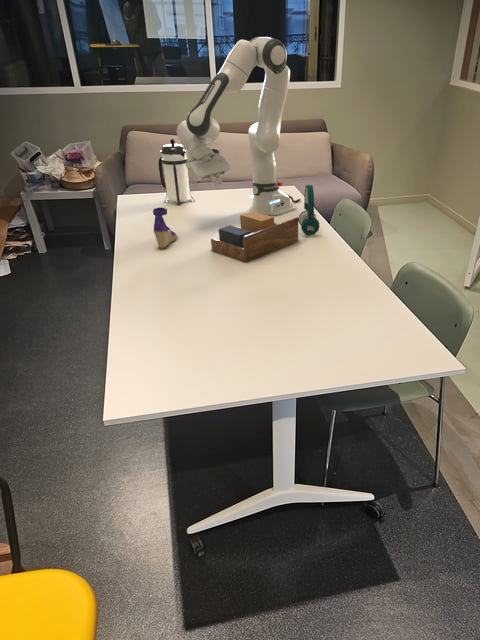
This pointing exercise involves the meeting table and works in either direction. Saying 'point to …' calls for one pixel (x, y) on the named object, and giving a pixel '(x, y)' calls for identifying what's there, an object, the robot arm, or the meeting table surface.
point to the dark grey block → (233, 235)
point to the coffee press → (174, 172)
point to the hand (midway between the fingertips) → (219, 184)
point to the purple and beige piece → (162, 229)
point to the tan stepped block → (255, 221)
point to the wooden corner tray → (260, 241)
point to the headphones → (309, 213)
